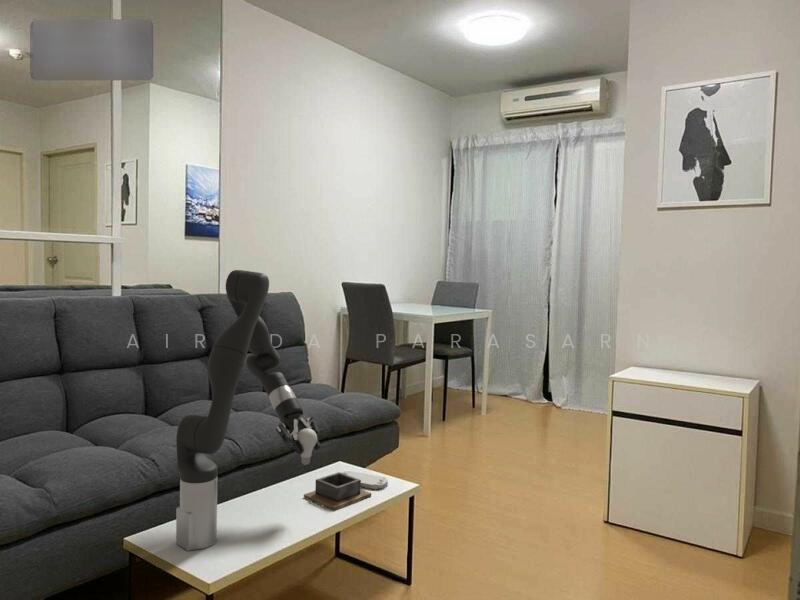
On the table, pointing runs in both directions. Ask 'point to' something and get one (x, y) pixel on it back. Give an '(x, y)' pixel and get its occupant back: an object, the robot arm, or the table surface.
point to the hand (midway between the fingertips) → (309, 450)
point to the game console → (368, 480)
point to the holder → (337, 491)
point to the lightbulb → (307, 444)
